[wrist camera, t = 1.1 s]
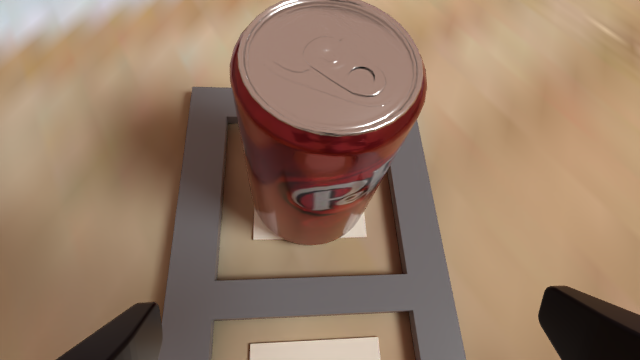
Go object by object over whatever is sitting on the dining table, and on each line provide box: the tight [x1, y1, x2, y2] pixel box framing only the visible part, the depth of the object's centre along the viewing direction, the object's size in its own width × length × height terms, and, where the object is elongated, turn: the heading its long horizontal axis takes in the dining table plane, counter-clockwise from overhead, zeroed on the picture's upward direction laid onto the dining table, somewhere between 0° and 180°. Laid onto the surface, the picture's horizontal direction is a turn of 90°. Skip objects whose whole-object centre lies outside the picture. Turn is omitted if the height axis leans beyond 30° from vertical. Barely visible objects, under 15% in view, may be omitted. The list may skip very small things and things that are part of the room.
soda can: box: [230, 0, 427, 245], centre depth 18 cm, size 7×7×12 cm
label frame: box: [158, 87, 466, 360], centre depth 21 cm, size 26×16×1 cm, turn 3°
